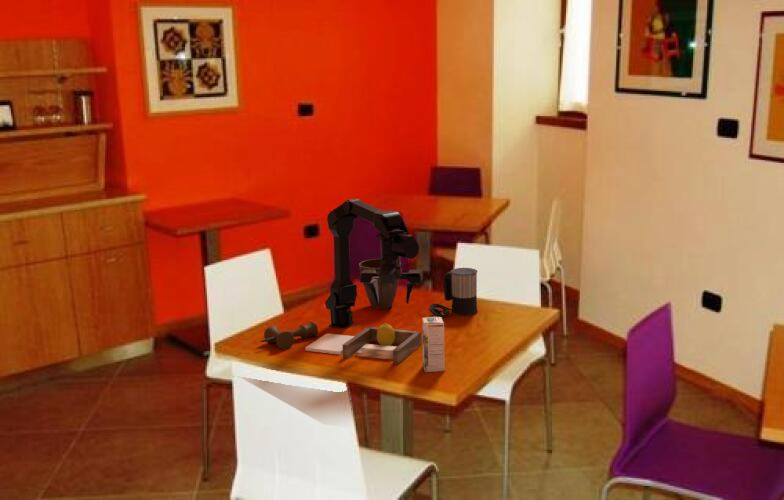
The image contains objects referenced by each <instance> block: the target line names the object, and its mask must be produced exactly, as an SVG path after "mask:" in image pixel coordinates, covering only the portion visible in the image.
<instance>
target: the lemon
mask: <svg viewBox="0 0 784 500" xmlns="http://www.w3.org/2000/svg"><path fill="white" fill-rule="evenodd" d="M377 328H378V331H377V340H378V341H377V343H378V345H385V346H393V344H394V343H393V342H394V340H395V332H394V329H395V328H393V326H392V325H391V324H387V322H384V323H383V324H381V325H380V326H379V327H377Z"/></svg>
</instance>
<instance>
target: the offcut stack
mask: <svg viewBox="0 0 784 500" xmlns="http://www.w3.org/2000/svg"><path fill="white" fill-rule="evenodd" d="M397 347H398V346H396V345H395V346H393V345H391V346H385V345H380V344H372V343H371V344H370V343H368V344H365V345H364V346H363V347H362V348H361V349H360V350H358V351H357V352H356V353H355V354H356V356H357V357H364V358H365V357H367V358H374V359H375V358H376V359H384V360H386V359H387V360H393V350H394V349H395V348H397Z"/></svg>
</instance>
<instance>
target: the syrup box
mask: <svg viewBox="0 0 784 500" xmlns="http://www.w3.org/2000/svg"><path fill="white" fill-rule="evenodd" d="M421 322H422V323H421V324H422V331H421V340H422V366H423V370H424V372H425V373H437V372H445V371H446V369H445V368H446V367H445V366H446V365H445V363H446V362H445V361H446V359H445V322H444V320H443V317H437V316H426V317H422V320H421Z"/></svg>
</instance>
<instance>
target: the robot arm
mask: <svg viewBox="0 0 784 500" xmlns="http://www.w3.org/2000/svg"><path fill="white" fill-rule="evenodd" d="M358 217H359V218H361V219H363V220H365V221H368V222H369V223H371V224H372V225H373V228H374V229H375V230H377V231H378V233H377V234H376V235H375V238H377V239H380V259H381V265H380V269H379V272H378V273H376V271H375V270H364V271H363V272H362V273H361V272H360V273H359V282H360V283H362V284H363V283H364V284H365V285H368V286H369V287H370V289H371V291H372V293H373V295H374V297H375V300H376V302H377V303H379V293H378V283H377V279H379V282H380V283H390V284H392V283H395V281H396V279H399V280H407V282H406V299H405V301H406V304H407V305H408V304H409V303H410V298H411V295H412V292H413V289H414V287H415V286H418V284H420V283H422V281H423V279H424V271H422V269H409V270H408V272H403V269H402V266H400V262H401V258H406V259H411V260H413V259H415V258H416V257H417V256H418V254H419V251H420V245H419V243H418V241H417V240H415V239H414V235H413V234H410V231H409V230H408V226H407V225H406V224H405V222H404V221H405V220H403V217H402V216H401V214H400V213H399V212H398V211H395V210H390V209H389V210H383V209H379V208H377V207H376V206H373V205H371V204H368V203H366V202H365V201H362V200H361V199H359V198H352V199H351V198H350V199H346V200H344V202H342V204H340V205H339V206H337V207H335V208H334V209H333V210H330V211H329V213H328V214H327V216H326V221H327V226H328V230H329V231H330V233H331V235H332V236H333V250H334V251H333V253H334V255H333V256H334V280H333V282H332V284H331V286H330V291H329V292H330V295H329V296H328V297H327V299H326V300H325V302H324V304H325V308H326V309H327V310H329V311H330V323H329V324H328V327H331V328H338V329H339V328H340V329H347V328H349V326H351V325H354V323H355V321H354V320H353V319H354V318H353V311H352V307H355V305H356V300H357V296H358V292H357V287H358V286H357V284H355V283H354V282H353V281H352V279H351V259H350V257H351V256H350V235H351V233H352V231H353V229H354V226H355V220H356V219H357V218H358Z"/></svg>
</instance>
